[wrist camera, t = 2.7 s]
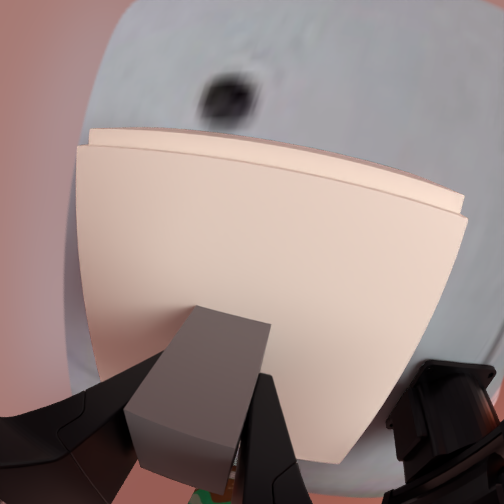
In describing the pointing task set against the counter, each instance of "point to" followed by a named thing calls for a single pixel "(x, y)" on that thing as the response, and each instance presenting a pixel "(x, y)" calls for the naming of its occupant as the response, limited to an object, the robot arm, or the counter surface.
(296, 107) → the counter surface
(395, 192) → the carton
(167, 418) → the lid
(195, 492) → the food container
